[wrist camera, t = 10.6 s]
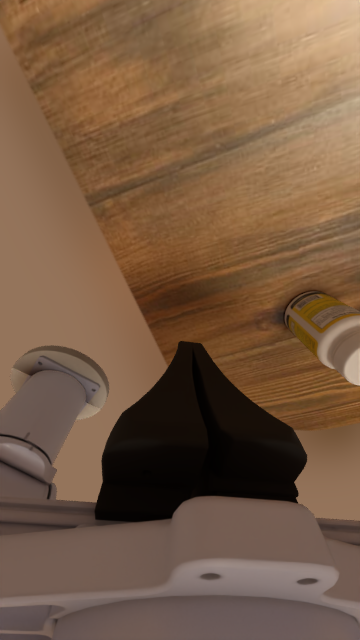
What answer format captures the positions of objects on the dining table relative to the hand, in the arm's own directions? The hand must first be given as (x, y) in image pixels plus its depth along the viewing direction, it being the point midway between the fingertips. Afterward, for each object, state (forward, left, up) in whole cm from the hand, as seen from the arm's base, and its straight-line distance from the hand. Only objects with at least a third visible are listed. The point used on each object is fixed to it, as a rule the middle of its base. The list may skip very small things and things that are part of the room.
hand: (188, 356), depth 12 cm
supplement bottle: (+7, -11, -10) cm, 16 cm away
